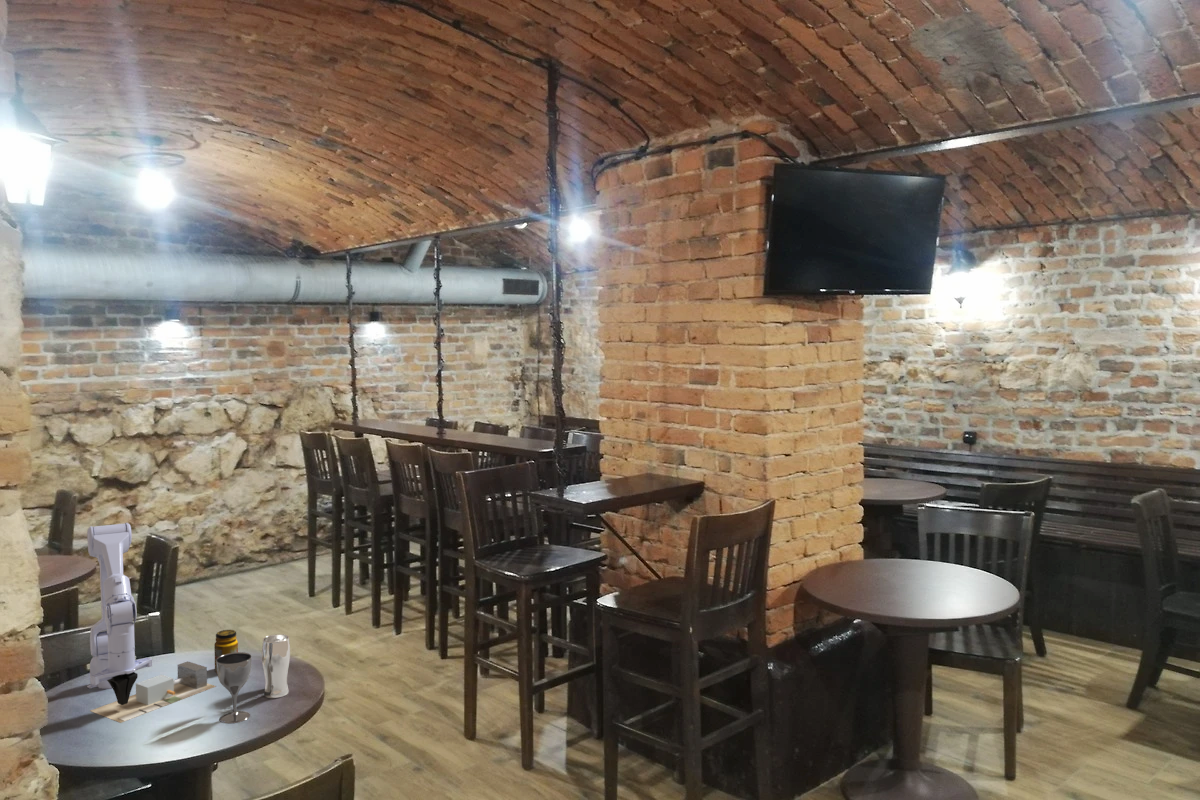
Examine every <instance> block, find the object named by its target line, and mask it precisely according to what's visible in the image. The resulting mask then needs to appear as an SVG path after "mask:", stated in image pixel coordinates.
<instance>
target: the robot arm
mask: <svg viewBox="0 0 1200 800" xmlns="http://www.w3.org/2000/svg"><path fill="white" fill-rule="evenodd" d="M86 530H87V534H86V536H87V537H86V538H87V551H88V552H87V553H88V554H89V557H93V558H96V560H97V562H98V564H99V581H100V583H99V585H100V605H101V618H100V619H99V620H98V621H96V622H95V623H94V624H93V625H92V626H91V628H90V631H89V632H90V634H89V635H90V636H89V647H90V654H91V656H92V658H91V660H90V663H89V676H90V678H89V679H90V681H89V682H90V683H89V685H87V686H86V687H87V689H93V688H96V687H98V688H99V689H104V690H105V689H109V690H110V689H112V690H113V693H114V694H115V698H116V701H117V702H118V704H121V705H124V704H127V703H128V700H129V696H131V691H132V689H133V687H134V685H135V684H136V683H135V682H136V681H137V679H138V673H137V672H136V671H138V670H141V669H144V668H150V667H151V668H152V667H153V659H152V657H151V658H150V657H145V658H139V659H136V654H135V653H136V652H135V651H136V647H135V645H136V643H135V623H136V622H137V613H138V612H137V605H136V601H135V598H134V596H133V595H132V589H131V582H130V578H129V576H127V575H125V574H124V554H125V553H127V552H128V551H129V550H130V547H131V545H132V539H133V538H132V526H131V524H130V523H129V522H124V523H115V524H106V525H97V526H93V525H90V526H89V527H88V528H87V529H86Z"/></svg>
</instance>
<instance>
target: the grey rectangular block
mask: <svg viewBox="0 0 1200 800" xmlns="http://www.w3.org/2000/svg"><path fill="white" fill-rule="evenodd" d="M207 671H208V668H207V666H204V665H200V664H197V663H194V662H191V661H183V662H182V663H179V664H177V679H179V678H183V682H182V683H179V684H182V685H185V686H188V687H191V688H194V689H198V688H202V687H205V686H207V683H208V672H207Z"/></svg>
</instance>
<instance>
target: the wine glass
mask: <svg viewBox="0 0 1200 800" xmlns="http://www.w3.org/2000/svg"><path fill="white" fill-rule="evenodd" d="M216 666H217V673H216V674H217V677H218V681H219V683H220V684H221V686H223V687H224V688H225V689H226V690H227V691H228V692H229V693H230V695H231V699H232V711H230V712H226V713H224V714H222V715H221V716H220V717H219V720H218V721H219V722H220V723H223V724H236V723H241V722H244V721H246V720H248V719H249V718H250V717H251V713H250V712H249V711H245V710H237V702H238V696H239V695H238V694H239V692H240V690H241V689H242V688H243V686H245V685H246V683H247V682H248V681H249V678H250V674H251V672H252V671H251V669H252V655H251V653H248V652H245V651H243V652H241V651H238V652H235V653H229V654H225V655H222V656H220V657H218V658H217V660H216Z"/></svg>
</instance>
